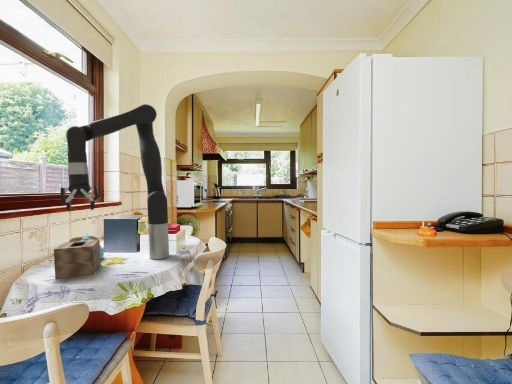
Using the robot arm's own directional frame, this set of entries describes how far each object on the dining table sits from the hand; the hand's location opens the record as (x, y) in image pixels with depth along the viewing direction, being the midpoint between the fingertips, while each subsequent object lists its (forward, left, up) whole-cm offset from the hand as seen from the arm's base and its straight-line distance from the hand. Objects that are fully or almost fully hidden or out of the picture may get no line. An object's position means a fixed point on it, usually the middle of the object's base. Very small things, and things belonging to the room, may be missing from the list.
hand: (81, 210), depth 126 cm
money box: (+1, +2, -26) cm, 26 cm away
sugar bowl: (+2, -16, -27) cm, 31 cm away
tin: (+8, -38, -27) cm, 47 cm away
